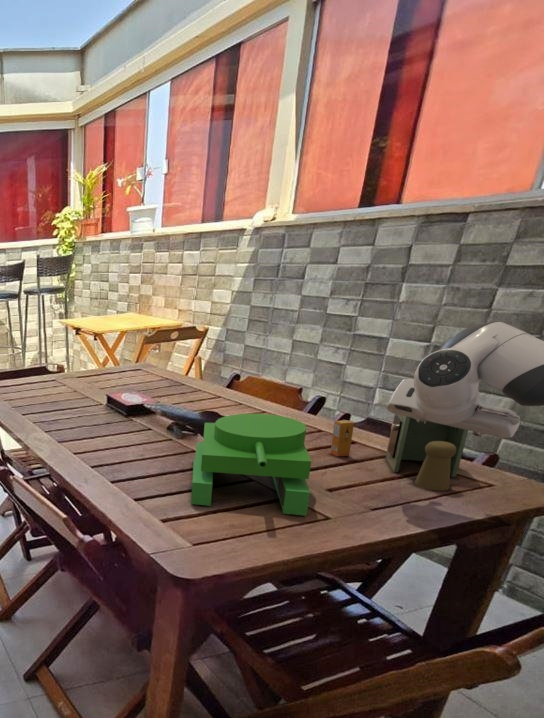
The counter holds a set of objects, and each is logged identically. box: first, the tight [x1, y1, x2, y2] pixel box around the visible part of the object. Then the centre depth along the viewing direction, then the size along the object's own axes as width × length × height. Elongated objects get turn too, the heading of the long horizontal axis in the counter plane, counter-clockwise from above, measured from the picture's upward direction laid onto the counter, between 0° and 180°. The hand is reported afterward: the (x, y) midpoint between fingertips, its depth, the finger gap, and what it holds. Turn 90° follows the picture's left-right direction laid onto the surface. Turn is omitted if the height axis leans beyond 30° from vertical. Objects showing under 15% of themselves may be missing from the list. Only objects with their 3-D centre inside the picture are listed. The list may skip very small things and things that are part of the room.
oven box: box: [385, 414, 469, 478], centre depth 126 cm, size 13×11×16 cm
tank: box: [190, 413, 312, 517], centre depth 124 cm, size 24×35×16 cm
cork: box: [414, 441, 456, 491], centre depth 117 cm, size 6×6×11 cm
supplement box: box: [330, 419, 355, 458], centre depth 139 cm, size 3×4×10 cm
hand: (450, 426), depth 109 cm, fingers open, 8 cm apart
